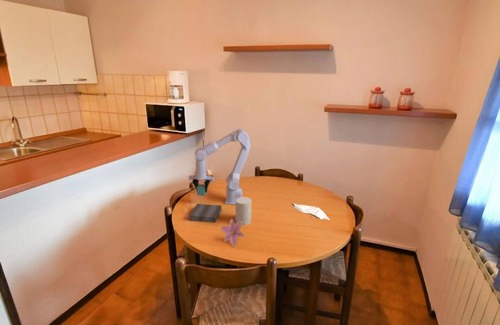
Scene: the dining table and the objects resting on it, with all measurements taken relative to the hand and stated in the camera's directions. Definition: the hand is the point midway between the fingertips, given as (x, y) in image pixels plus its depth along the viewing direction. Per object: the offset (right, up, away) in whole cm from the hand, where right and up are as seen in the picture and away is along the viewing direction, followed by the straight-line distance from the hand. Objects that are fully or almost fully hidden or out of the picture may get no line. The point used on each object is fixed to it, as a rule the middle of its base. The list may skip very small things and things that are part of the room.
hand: (201, 191), depth 161 cm
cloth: (+63, -12, -4) cm, 64 cm away
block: (0, -1, 0) cm, 2 cm away
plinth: (+4, -12, -11) cm, 16 cm away
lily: (+20, -20, -33) cm, 43 cm away
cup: (+25, -14, -16) cm, 32 cm away
